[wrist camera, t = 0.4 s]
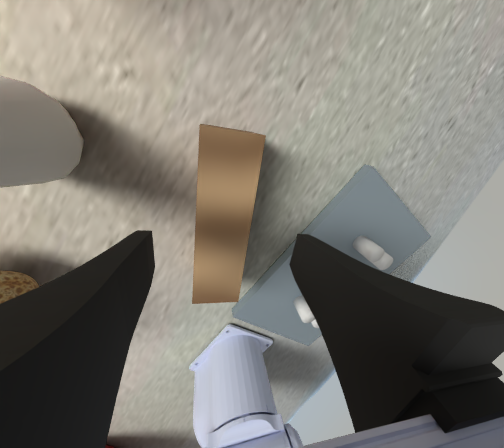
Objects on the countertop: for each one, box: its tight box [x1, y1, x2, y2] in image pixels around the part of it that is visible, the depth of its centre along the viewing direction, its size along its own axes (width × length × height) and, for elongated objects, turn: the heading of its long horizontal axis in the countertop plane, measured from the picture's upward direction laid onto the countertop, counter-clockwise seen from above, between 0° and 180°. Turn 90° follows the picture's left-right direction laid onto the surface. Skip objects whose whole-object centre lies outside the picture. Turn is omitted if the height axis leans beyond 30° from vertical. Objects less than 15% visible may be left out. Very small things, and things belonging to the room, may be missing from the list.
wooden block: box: [192, 124, 266, 304], centre depth 17 cm, size 14×4×5 cm, turn 171°
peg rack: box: [232, 165, 431, 346], centre depth 24 cm, size 22×14×4 cm, turn 141°
